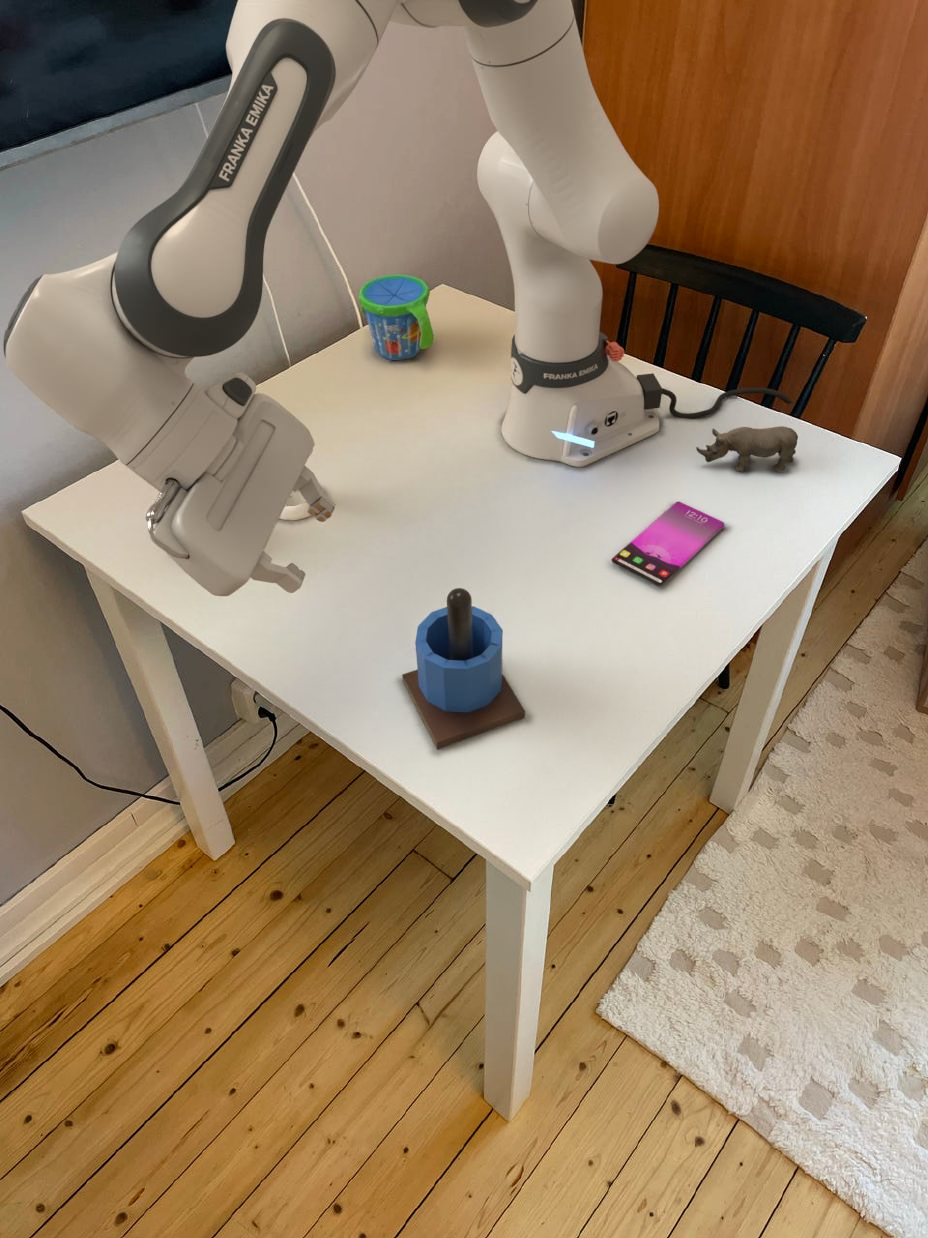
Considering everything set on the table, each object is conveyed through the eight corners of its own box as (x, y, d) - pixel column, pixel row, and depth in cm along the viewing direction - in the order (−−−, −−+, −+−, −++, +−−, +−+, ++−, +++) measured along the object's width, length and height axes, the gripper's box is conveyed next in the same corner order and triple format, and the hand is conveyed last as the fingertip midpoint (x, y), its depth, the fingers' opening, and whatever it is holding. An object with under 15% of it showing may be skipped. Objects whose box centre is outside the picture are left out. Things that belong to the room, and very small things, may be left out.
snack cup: (345, 339, 155) (338, 279, 148) (401, 320, 159) (396, 261, 152) (395, 382, 146) (391, 320, 139) (453, 360, 150) (451, 299, 143)
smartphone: (609, 564, 117) (610, 558, 116) (676, 503, 125) (677, 498, 124) (660, 590, 114) (660, 585, 113) (725, 526, 121) (726, 521, 121)
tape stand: (485, 653, 107) (485, 545, 96) (524, 717, 101) (529, 610, 89) (402, 681, 105) (391, 573, 93) (437, 749, 98) (429, 642, 87)
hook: (352, 488, 120) (302, 471, 116) (308, 539, 128) (259, 525, 124) (350, 443, 124) (301, 425, 120) (307, 496, 132) (260, 480, 128)
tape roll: (424, 648, 107) (421, 603, 101) (503, 651, 106) (504, 607, 101) (415, 710, 100) (411, 666, 95) (499, 714, 100) (499, 670, 95)
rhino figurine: (690, 455, 132) (696, 418, 128) (790, 455, 132) (801, 418, 127) (694, 474, 129) (701, 437, 125) (797, 473, 129) (808, 436, 124)
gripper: (157, 508, 71) (301, 617, 77) (249, 361, 85) (365, 462, 91) (117, 546, 75) (257, 646, 81) (211, 399, 89) (325, 494, 94)
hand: (315, 548), depth 86 cm, fingers open, 8 cm apart
